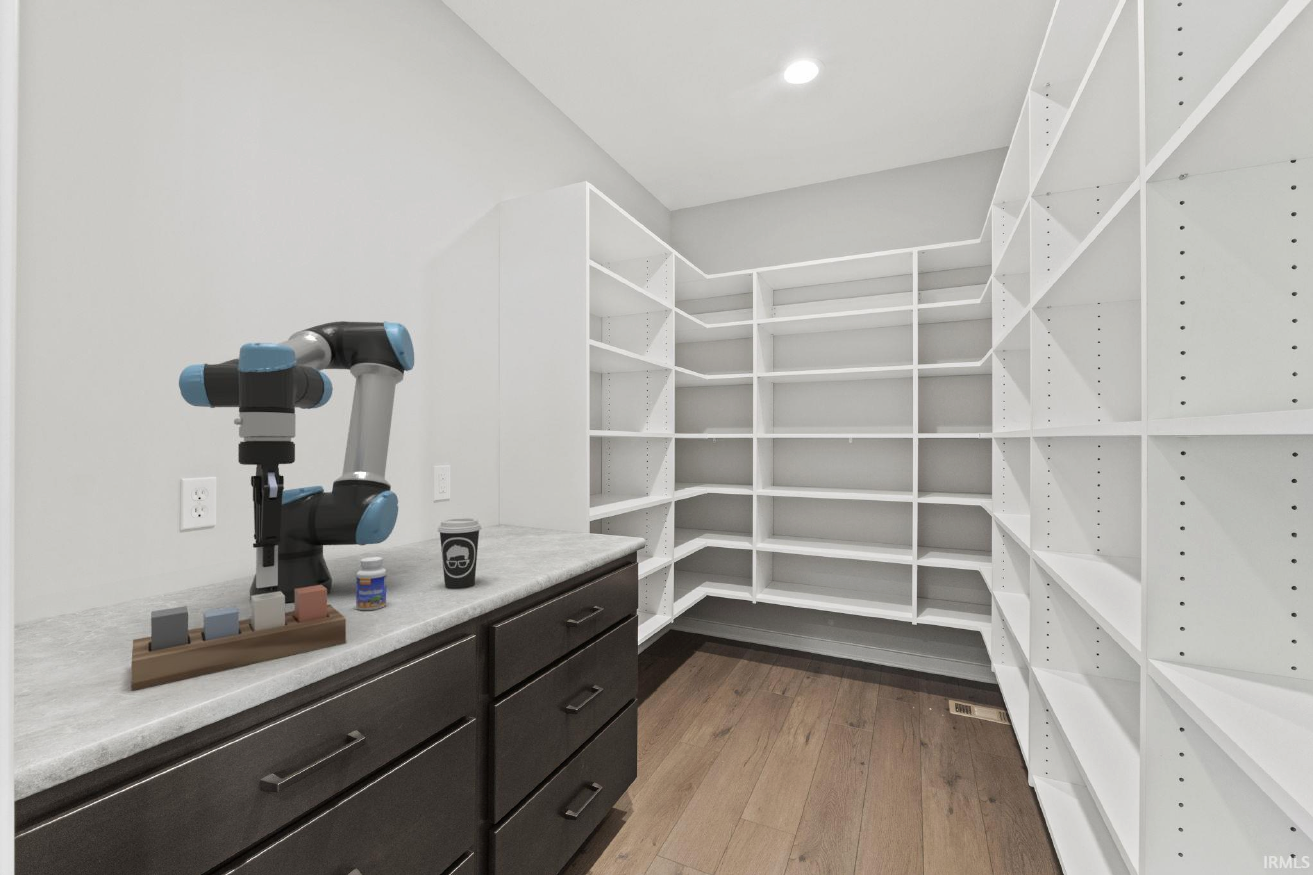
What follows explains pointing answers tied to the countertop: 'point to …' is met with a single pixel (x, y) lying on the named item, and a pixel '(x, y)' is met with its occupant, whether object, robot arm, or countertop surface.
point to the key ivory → (267, 611)
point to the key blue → (221, 623)
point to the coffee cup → (459, 551)
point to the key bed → (233, 649)
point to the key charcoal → (169, 628)
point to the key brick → (310, 603)
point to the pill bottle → (371, 584)
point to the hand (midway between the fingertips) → (266, 585)
